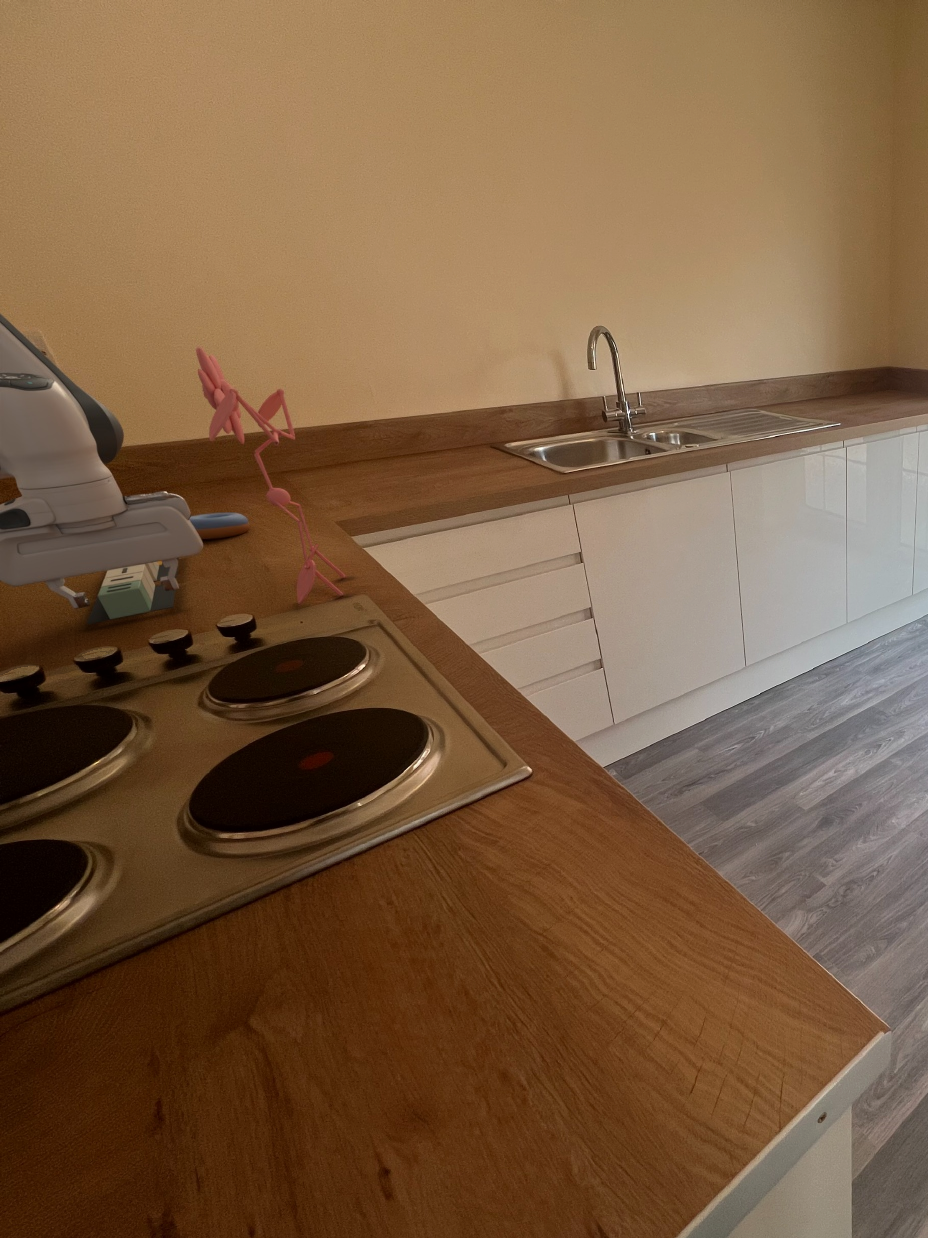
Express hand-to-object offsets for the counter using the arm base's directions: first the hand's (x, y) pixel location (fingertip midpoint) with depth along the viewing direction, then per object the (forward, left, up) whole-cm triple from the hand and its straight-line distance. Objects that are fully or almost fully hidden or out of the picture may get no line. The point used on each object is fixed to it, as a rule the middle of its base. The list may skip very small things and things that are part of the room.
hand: (128, 597), depth 99 cm
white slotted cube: (0, +9, -2) cm, 9 cm away
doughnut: (+10, +40, -3) cm, 41 cm away
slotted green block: (0, 0, -2) cm, 2 cm away
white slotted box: (0, +5, -2) cm, 5 cm away
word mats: (0, +14, -3) cm, 14 cm away
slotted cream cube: (0, +16, -2) cm, 16 cm away
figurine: (+18, -6, -3) cm, 19 cm away
